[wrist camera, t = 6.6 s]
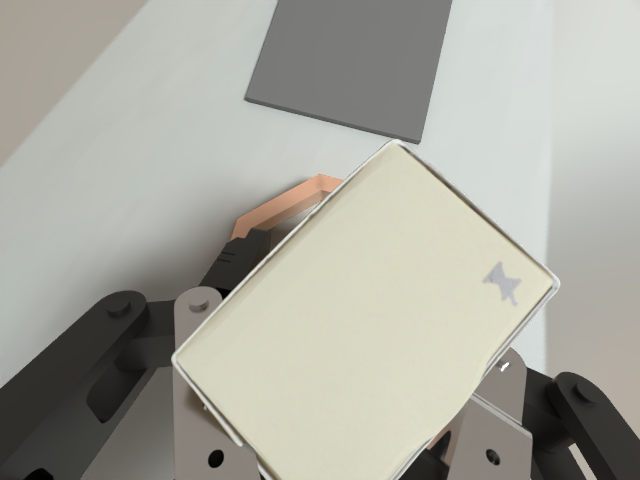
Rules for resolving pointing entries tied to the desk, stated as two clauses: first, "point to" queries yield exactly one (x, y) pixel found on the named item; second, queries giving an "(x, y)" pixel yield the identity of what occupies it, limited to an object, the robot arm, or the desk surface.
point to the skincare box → (365, 325)
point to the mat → (353, 62)
